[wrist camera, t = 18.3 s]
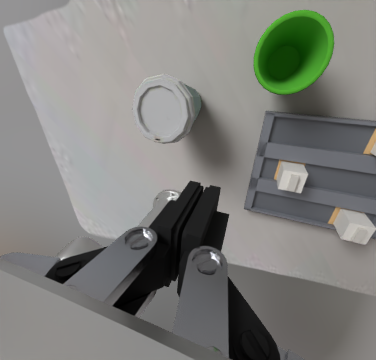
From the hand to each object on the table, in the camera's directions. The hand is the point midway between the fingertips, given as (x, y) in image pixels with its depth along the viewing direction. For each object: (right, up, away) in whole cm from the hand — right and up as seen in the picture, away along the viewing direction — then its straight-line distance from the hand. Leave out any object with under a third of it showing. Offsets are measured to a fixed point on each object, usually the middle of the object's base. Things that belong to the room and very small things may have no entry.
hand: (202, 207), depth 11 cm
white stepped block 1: (+20, +3, +29) cm, 35 cm away
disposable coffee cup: (-1, +18, +31) cm, 36 cm away
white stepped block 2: (+32, -6, +29) cm, 44 cm away
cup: (+16, +22, +23) cm, 36 cm away
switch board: (+26, +3, +29) cm, 39 cm away
